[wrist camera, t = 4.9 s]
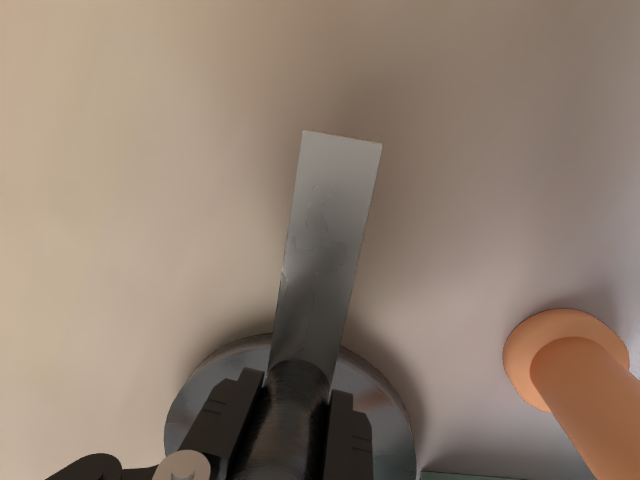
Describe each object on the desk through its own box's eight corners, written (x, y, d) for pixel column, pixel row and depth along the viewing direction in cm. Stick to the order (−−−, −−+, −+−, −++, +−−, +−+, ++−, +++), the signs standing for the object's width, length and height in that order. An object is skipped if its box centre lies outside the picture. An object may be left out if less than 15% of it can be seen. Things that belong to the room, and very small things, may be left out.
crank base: (406, 535, 20) (409, 567, 18) (193, 513, 21) (180, 541, 20) (419, 338, 16) (424, 358, 15) (163, 327, 18) (145, 345, 16)
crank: (319, 555, 18) (287, 872, 10) (223, 531, 19) (121, 822, 11) (418, 149, 12) (517, 183, 4) (273, 123, 13) (125, 111, 5)
